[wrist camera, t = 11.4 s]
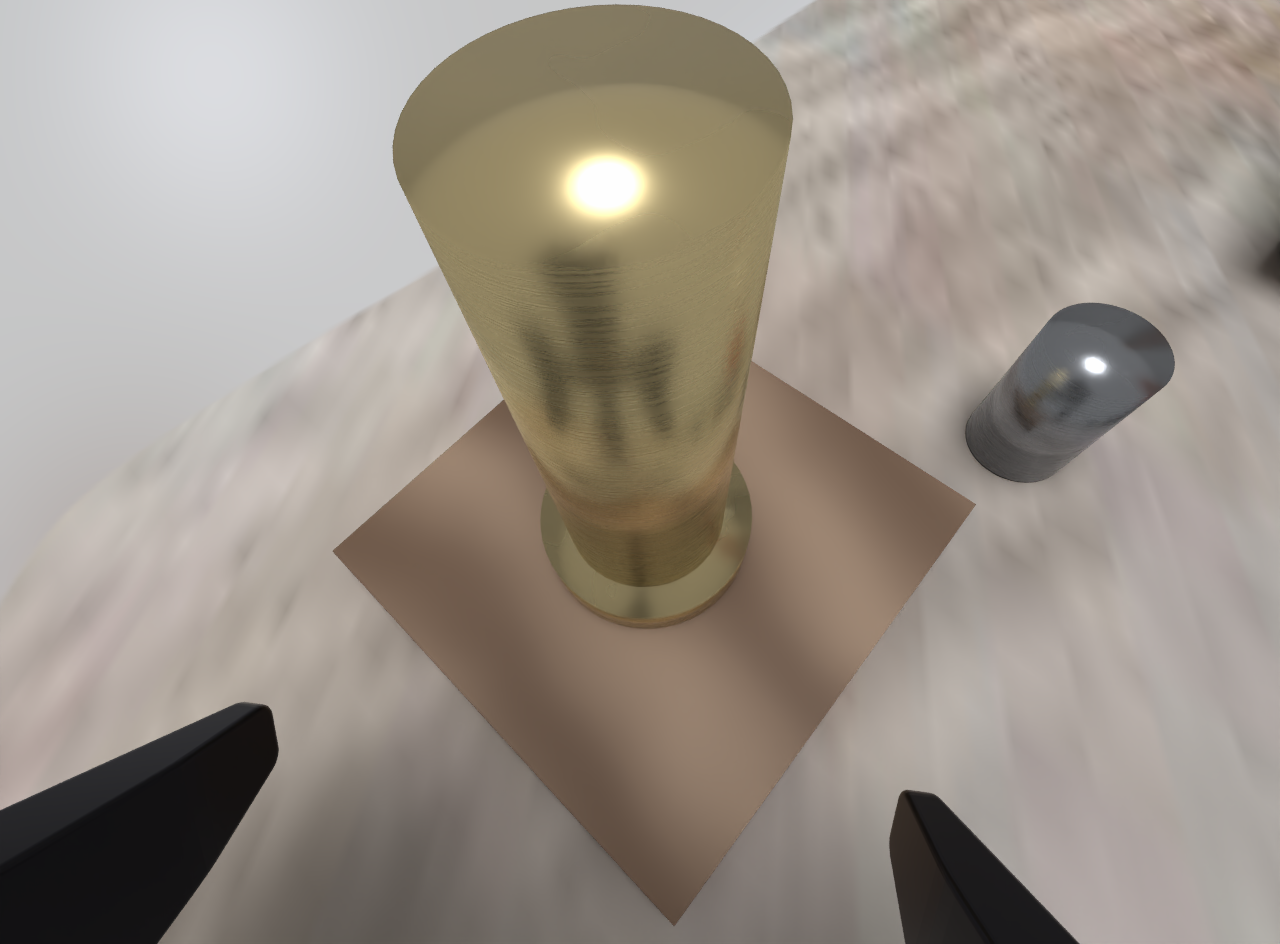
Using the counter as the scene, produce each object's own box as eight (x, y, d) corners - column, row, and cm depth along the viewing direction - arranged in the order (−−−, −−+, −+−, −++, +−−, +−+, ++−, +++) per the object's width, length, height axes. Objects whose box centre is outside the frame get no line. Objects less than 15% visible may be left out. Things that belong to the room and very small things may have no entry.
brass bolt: (727, 651, 17) (838, 383, 5) (524, 601, 17) (211, 279, 6) (761, 462, 19) (890, -15, 7) (582, 428, 20) (443, -42, 8)
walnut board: (674, 912, 15) (674, 926, 14) (355, 565, 20) (332, 551, 19) (955, 522, 19) (975, 504, 18) (635, 312, 24) (633, 285, 23)
